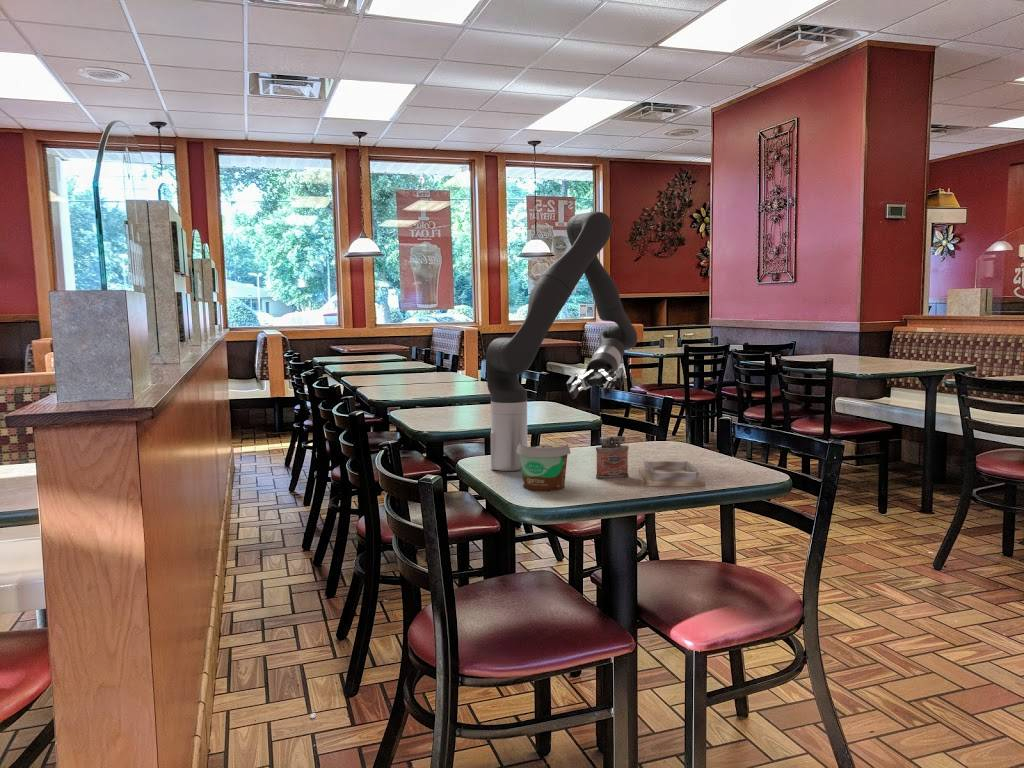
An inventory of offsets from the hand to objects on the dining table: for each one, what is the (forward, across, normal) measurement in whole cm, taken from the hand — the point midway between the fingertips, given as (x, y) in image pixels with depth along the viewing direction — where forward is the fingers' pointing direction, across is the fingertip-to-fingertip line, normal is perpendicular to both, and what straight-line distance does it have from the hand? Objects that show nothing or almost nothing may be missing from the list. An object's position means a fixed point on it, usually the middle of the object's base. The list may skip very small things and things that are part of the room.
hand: (589, 393), depth 186 cm
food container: (+28, -6, +9) cm, 30 cm away
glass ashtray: (+10, +18, +20) cm, 28 cm away
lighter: (+12, +5, +17) cm, 21 cm away
